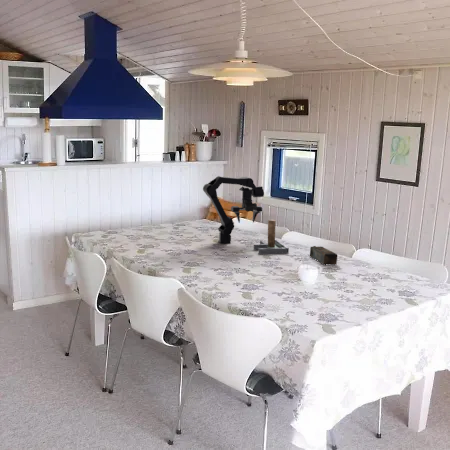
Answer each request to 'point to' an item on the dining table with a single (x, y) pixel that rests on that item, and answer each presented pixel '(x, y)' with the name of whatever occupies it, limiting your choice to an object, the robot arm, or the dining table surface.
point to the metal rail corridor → (264, 248)
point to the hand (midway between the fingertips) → (246, 222)
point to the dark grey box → (323, 255)
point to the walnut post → (271, 233)
